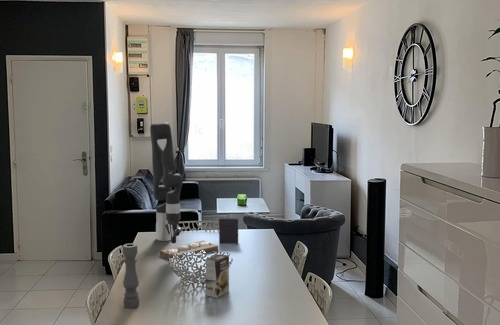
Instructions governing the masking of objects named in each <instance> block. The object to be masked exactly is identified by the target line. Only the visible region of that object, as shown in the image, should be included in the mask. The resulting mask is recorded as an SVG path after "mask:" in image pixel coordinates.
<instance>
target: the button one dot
mask: <svg viewBox="0 0 500 325" xmlns="http://www.w3.org/2000/svg"><path fill="white" fill-rule="evenodd" d="M208 242H209V241H206V242H202V243H200V245H201V246H208V245H209V243H210V242H209V243H208Z"/></svg>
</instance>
